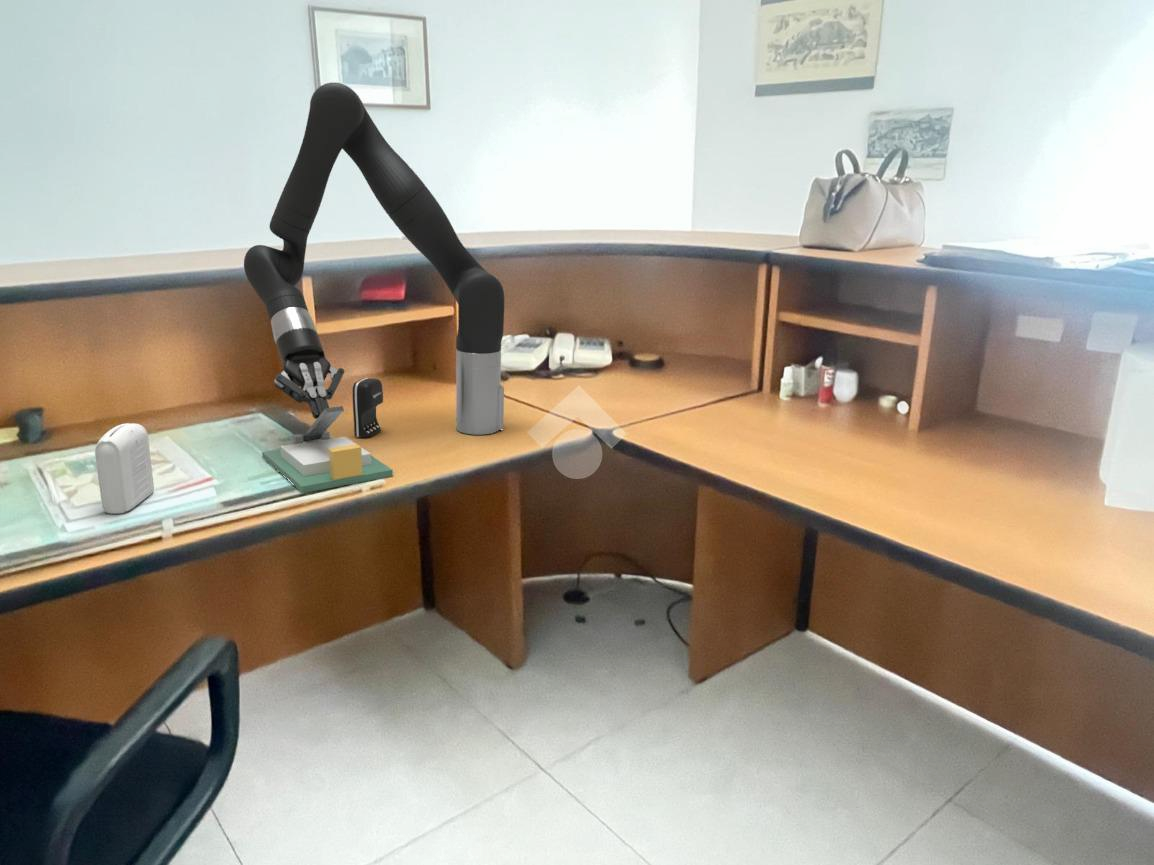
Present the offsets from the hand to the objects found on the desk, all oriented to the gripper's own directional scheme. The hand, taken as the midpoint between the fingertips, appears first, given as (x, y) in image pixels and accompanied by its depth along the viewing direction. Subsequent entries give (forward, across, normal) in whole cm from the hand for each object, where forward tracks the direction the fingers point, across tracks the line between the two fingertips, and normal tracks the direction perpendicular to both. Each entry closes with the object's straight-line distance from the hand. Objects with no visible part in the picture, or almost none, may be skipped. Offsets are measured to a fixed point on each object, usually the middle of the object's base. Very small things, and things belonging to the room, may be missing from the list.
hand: (323, 418), depth 141 cm
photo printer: (+7, -32, +6) cm, 33 cm away
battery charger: (-4, +15, +17) cm, 23 cm away
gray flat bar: (+1, 0, +2) cm, 2 cm away
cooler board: (+6, 0, +6) cm, 9 cm away
